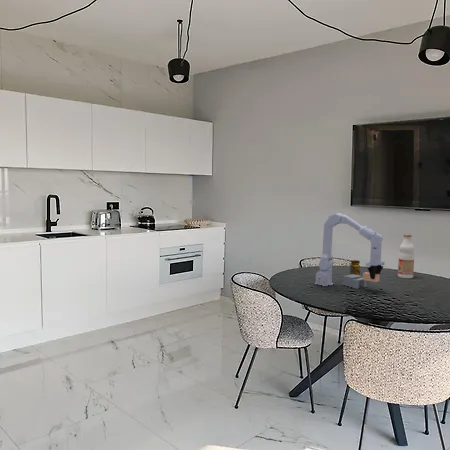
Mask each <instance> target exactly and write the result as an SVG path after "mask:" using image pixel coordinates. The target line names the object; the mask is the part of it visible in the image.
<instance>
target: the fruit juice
mask: <svg viewBox="0 0 450 450" xmlns="http://www.w3.org/2000/svg"><path fill="white" fill-rule="evenodd" d="M414 253H415V245H414V243H413V242H412V234H407V233H406V234H403V239H402V243H401V244H400V245H399V253H398V266H397V277H398V278H401V279H413V278H414V269H415V268H414V267H415V254H414Z"/></svg>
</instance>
